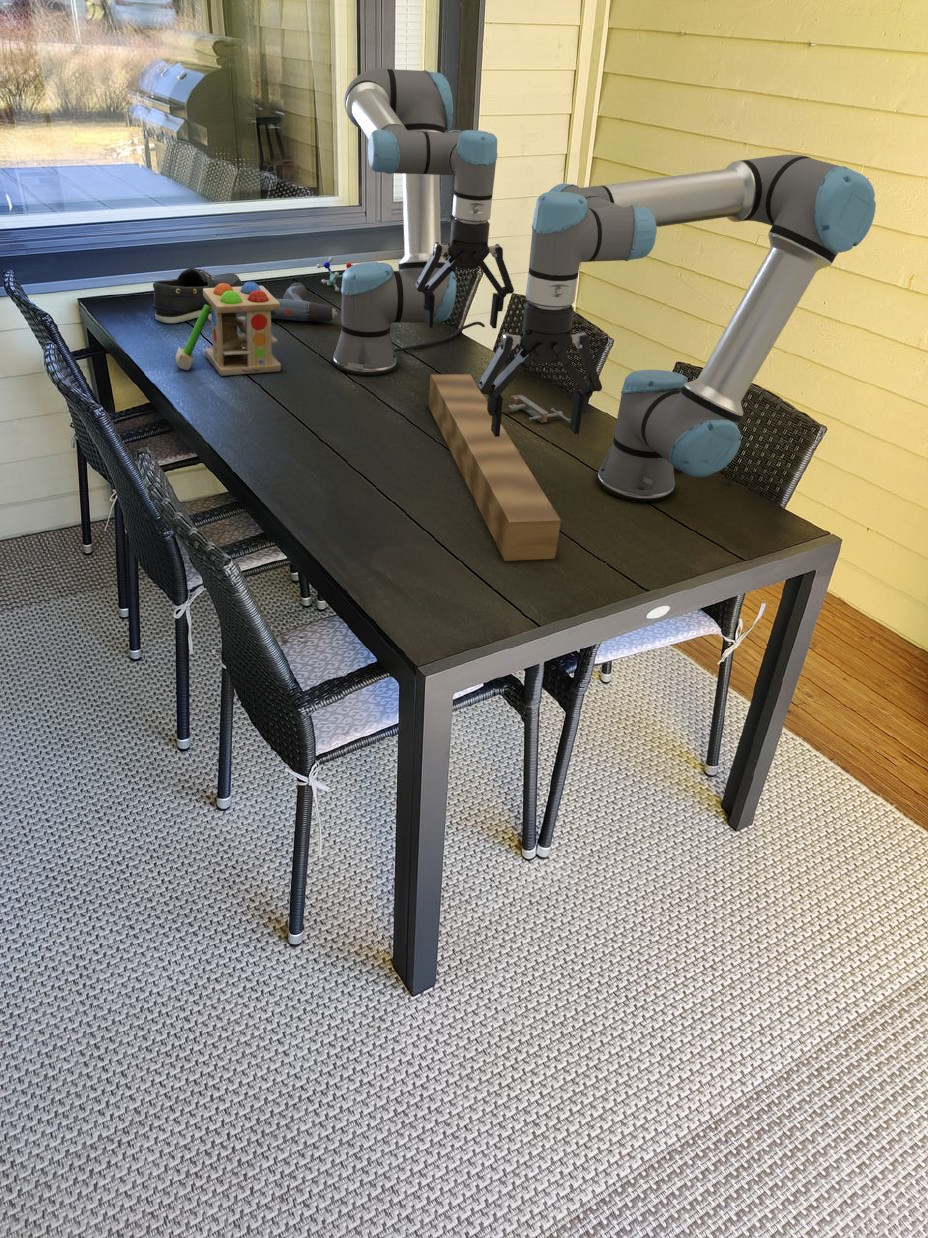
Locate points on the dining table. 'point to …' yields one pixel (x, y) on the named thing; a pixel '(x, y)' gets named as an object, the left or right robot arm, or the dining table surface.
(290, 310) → the power drill
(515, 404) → the clamp
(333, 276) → the molecular model
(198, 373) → the dining table surface
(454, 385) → the wide beam
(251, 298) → the pounding bench toy
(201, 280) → the boat shoe
